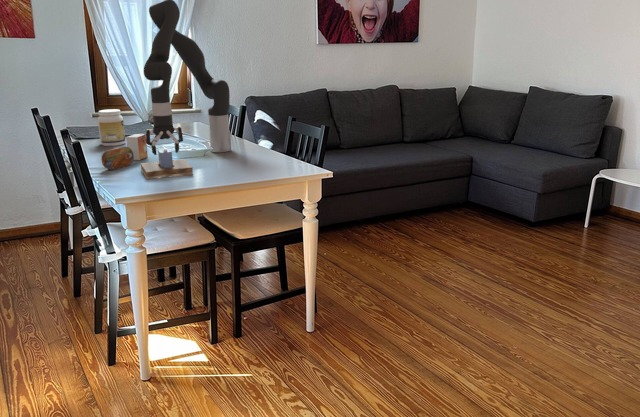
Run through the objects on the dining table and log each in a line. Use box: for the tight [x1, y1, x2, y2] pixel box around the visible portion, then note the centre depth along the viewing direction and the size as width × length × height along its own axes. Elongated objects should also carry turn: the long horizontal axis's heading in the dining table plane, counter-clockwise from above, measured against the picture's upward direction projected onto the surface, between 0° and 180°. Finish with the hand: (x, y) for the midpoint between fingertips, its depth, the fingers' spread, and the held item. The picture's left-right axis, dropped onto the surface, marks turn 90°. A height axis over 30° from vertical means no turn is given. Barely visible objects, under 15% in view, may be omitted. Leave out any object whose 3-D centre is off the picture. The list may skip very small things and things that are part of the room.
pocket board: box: [140, 158, 194, 180], centre depth 240 cm, size 18×16×3 cm
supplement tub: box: [97, 108, 127, 147], centre depth 294 cm, size 12×12×17 cm
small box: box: [125, 133, 148, 161], centre depth 264 cm, size 8×6×10 cm
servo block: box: [157, 148, 173, 168], centre depth 239 cm, size 4×9×9 cm, turn 24°
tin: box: [101, 146, 134, 171], centre depth 249 cm, size 15×3×8 cm, turn 148°
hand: (166, 153), depth 238 cm, fingers open, 8 cm apart
